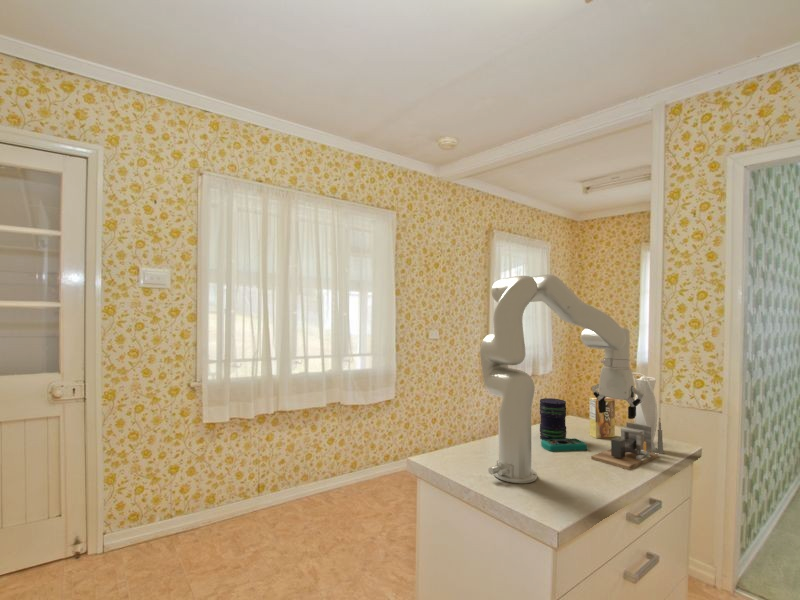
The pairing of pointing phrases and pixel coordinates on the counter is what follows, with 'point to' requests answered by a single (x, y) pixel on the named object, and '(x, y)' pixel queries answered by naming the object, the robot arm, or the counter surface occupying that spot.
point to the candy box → (602, 419)
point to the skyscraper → (648, 410)
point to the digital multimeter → (563, 445)
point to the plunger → (623, 447)
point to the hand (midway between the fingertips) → (616, 415)
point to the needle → (644, 449)
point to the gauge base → (630, 459)
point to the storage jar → (552, 419)
